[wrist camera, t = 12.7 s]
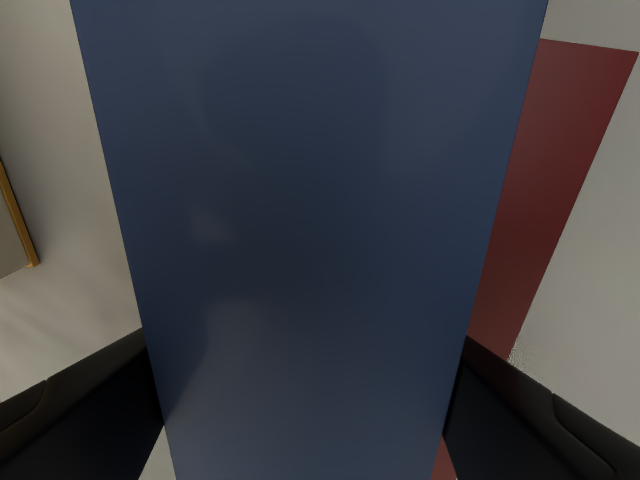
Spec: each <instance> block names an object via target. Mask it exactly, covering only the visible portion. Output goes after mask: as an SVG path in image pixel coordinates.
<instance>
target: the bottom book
mask: <svg viewBox="0 0 640 480" xmlns="http://www.w3.org/2000/svg"><path fill="white" fill-rule="evenodd" d="M638 55H639V52H636V51H628V50H621V49H614V48H606V47H599V46H592V45H584V44H577V43H570V42H562V41H555V40H548V39H540V38H539V41H538V46H537V50H536V54H535V58H534V62H533V66H532V70H531V74H530V78H529V82H528V86H527V90H526V94H525V98H524V102H523V106H522V110H521V115H520V119H519V123H518V127H517V131H516V135H515V139H514V143H513V147H512V151H511V155H510V159H509V163H508V167H507V171H506V175H505V179H504V184H503V188H502V192H501V196H500V200H499V204H498V208H497V212H496V216H495V220H494V224H493V228H492V232H491V236H490V240H489V244H488V248H487V253H486V257H485V261H484V265H483V269H482V273H481V277H480V281H479V285H478V289H477V293H476V297H475V301H474V305H473V309H472V313H471V317H470V322H469V326H468V330H467V334H466V335H468V336H469V337H471V338H472V339H474V340H475V341H477V342H478V343H480V344H481V345H483V346H484V347H486V348H487V349H489V350H490V351H492V352H493V353H495V354H496V355H498V356H499V357H501V358H502V359H504V360H505V361H507V359H508V357H509V355H510V352H511V350H512V348H513V345H514V343H515V341H516V338H517V336H518V334H519V331H520V329H521V327H522V324H523V322H524V320H525V317H526V315H527V313H528V310H529V308H530V306H531V303H532V301H533V299H534V296H535V294H536V292H537V289H538V287H539V285H540V283H541V280H542V278H543V276H544V273H545V271H546V269H547V266H548V264H549V262H550V259H551V257H552V255H553V252H554V250H555V248H556V245H557V243H558V241H559V238H560V236H561V234H562V231H563V229H564V227H565V224H566V222H567V220H568V217H569V215H570V213H571V210H572V208H573V206H574V203H575V201H576V199H577V196H578V194H579V192H580V189H581V187H582V185H583V182H584V180H585V178H586V176H587V173H588V171H589V169H590V166H591V164H592V162H593V159H594V157H595V155H596V152H597V150H598V148H599V145H600V143H601V141H602V138H603V136H604V134H605V131H606V129H607V127H608V124H609V122H610V120H611V117H612V115H613V113H614V110H615V108H616V106H617V103H618V101H619V99H620V96H621V94H622V92H623V89H624V87H625V85H626V82H627V80H628V78H629V75H630V73H631V71H632V68H633V66H634V64H635V62H636V59H637V57H638ZM456 478H457V476H456V473H455V470H454V467H453V464H452V462H451V459H450V456H449V453H448V450H447V448H446V445H445V442H444V439H443V436H442V435H441V439H440V443H439V447H438V451H437V455H436V460H435V464H434V468H433V472H432V476H431V480H456Z"/></svg>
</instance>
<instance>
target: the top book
mask: <svg viewBox="0 0 640 480" xmlns="http://www.w3.org/2000/svg"><path fill="white" fill-rule="evenodd" d="M37 265H39V261H38V258H37V255H36V253H35V250H34V248H33V245H32V242H31V240H30V237H29V234H28V232H27V229H26V226H25V224H24V221H23V219H22V216H21V213H20V211H19V208H18V205H17V203H16V200H15V198H14V195H13V192H12V190H11V187H10V184H9V182H8V179H7V176H6V174H5V171H4V169H3V166H2V163H1V161H0V279H1V278H3V277H5V276H7V275H9V274H11V273H13V272H15V271H17V270H19V269H21V268H23V267H35V266H37Z"/></svg>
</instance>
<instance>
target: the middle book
mask: <svg viewBox="0 0 640 480" xmlns="http://www.w3.org/2000/svg"><path fill="white" fill-rule="evenodd" d="M548 1H549V0H70V5H71V9H72V14H73V18H74V23H75V27H76V32H77V36H78V41H79V45H80V50H81V54H82V59H83V63H84V68H85V72H86V77H87V81H88V86H89V90H90V95H91V99H92V103H93V108H94V112H95V117H96V121H97V126H98V130H99V135H100V139H101V144H102V148H103V153H104V157H105V162H106V166H107V171H108V175H109V180H110V184H111V189H112V193H113V198H114V202H115V207H116V211H117V216H118V220H119V224H120V229H121V233H122V238H123V242H124V247H125V251H126V256H127V260H128V265H129V269H130V274H131V278H132V283H133V287H134V292H135V296H136V301H137V305H138V310H139V314H140V319H141V323H142V328H143V332H144V337H145V341H146V345H147V350H148V354H149V359H150V363H151V368H152V372H153V377H154V381H155V386H156V390H157V395H158V399H159V404H160V408H161V413H162V417H163V422H164V426H165V431H166V435H167V440H168V444H169V449H170V453H171V458H172V462H173V467H174V471H175V475H176V480H431V476H432V472H433V468H434V464H435V460H436V455H437V451H438V447H439V443H440V439H441V435H442V431H443V427H444V423H445V419H446V415H447V411H448V407H449V403H450V399H451V395H452V391H453V386H454V382H455V378H456V374H457V370H458V366H459V362H460V358H461V354H462V350H463V346H464V342H465V338H466V334H467V330H468V326H469V322H470V317H471V313H472V309H473V305H474V301H475V297H476V293H477V289H478V285H479V281H480V277H481V273H482V269H483V265H484V261H485V257H486V253H487V248H488V244H489V240H490V236H491V232H492V228H493V224H494V220H495V216H496V212H497V208H498V204H499V200H500V196H501V192H502V188H503V184H504V179H505V175H506V171H507V167H508V163H509V159H510V155H511V151H512V147H513V143H514V139H515V135H516V131H517V127H518V123H519V119H520V115H521V110H522V106H523V102H524V98H525V94H526V90H527V86H528V82H529V78H530V74H531V70H532V66H533V62H534V58H535V54H536V50H537V46H538V41H539V37H540V33H541V29H542V25H543V21H544V17H545V13H546V9H547V5H548Z"/></svg>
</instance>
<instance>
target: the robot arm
mask: <svg viewBox="0 0 640 480" xmlns="http://www.w3.org/2000/svg"><path fill="white" fill-rule="evenodd" d="M163 426H164V422H163V417H162V413H161V408H160V404H159V399H158V395H157V390H156V386H155V381H154V377H153V372H152V368H151V363H150V359H149V354H148V350H147V345H146V341H145V337H144V332H143V328H140V329H138V330H136V331H134V332H132V333H130V334H129V335H127V336H125V337H123V338H121V339H119V340H117V341H116V342H114V343H112V344H110V345H108V346H106V347H105V348H103V349H101V350H99V351H97V352H95V353H93V354H92V355H90V356H88V357H86V358H84V359H82V360H80V361H79V362H77V363H75V364H73V365H71V366H69V367H67V368H66V369H64V370H62V371H60V372H58V373H56V374H55V375H53V376H51V377H49V378H48V379H47V381H46V380H43V381H41V382H40V383H38V384H36V385H34V386H32V387H30V388H29V389H27V390H25V391H23V392H21V393H19V394H17V395H15V396H13V397H11V398H10V399H8V400H6V401H4V402H2V403H0V480H138V479H139V477H140V475H141V473H142V471H143V468H144V466H145V464H146V462H147V460H148V458H149V456H150V454H151V451H152V449H153V447H154V445H155V443H156V441H157V439H158V436H159V434H160V432H161V430H162V428H163ZM442 436H443V439H444V442H445V445H446V448H447V450H448V453H449V456H450V459H451V462H452V464H453V467H454V470H455V473H456V476H457V478H458V480H640V447H639V446H637V445H635V444H634V443H632V442H630V441H629V440H627V439H625V438H624V437H622V436H620V435H619V434H617V433H616V432H614V431H612V430H611V429H609V428H607V427H606V426H604V425H602V424H601V423H599V422H598V421H596V420H594V419H593V418H591V417H590V416H588V415H587V414H585V413H584V412H582V411H581V410H579V409H577V408H576V407H574V406H573V405H571V404H570V403H568V402H567V401H565V400H564V399H562V398H561V397H559V396H558V395H556V394H554V393H553V394H552V392H551V391H550V390H549V389H547V388H546V387H544V386H543V385H541V384H540V383H538V382H537V381H535V380H534V379H532V378H531V377H529V376H528V375H526V374H525V373H523V372H522V371H520V370H519V369H517V368H516V367H514V366H513V365H511V364H510V363H508V362H507V361H505V360H504V359H502V358H501V357H499V356H498V355H496V354H495V353H493V352H492V351H490V350H489V349H487V348H486V347H484V346H483V345H481V344H480V343H478V342H477V341H475V340H474V339H472V338H471V337H469V336H468V335H466V338H465V342H464V346H463V350H462V354H461V358H460V362H459V366H458V370H457V374H456V378H455V382H454V386H453V391H452V395H451V399H450V403H449V407H448V411H447V415H446V419H445V423H444V427H443V431H442Z"/></svg>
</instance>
